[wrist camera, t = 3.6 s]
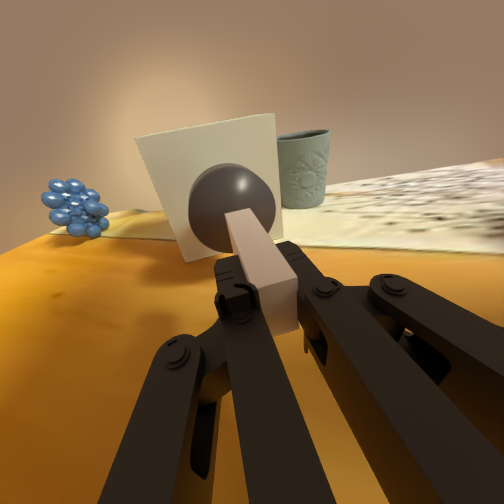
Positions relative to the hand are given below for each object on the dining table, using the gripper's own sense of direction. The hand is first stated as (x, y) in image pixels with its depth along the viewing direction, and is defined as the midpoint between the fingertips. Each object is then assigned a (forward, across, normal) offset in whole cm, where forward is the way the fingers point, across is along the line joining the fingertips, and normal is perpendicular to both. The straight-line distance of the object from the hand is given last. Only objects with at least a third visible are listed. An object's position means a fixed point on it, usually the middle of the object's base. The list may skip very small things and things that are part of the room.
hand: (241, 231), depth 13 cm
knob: (+12, 0, -6) cm, 13 cm away
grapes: (+33, -24, -11) cm, 43 cm away
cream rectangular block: (+19, 0, -11) cm, 22 cm away
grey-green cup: (+27, +17, -11) cm, 33 cm away
